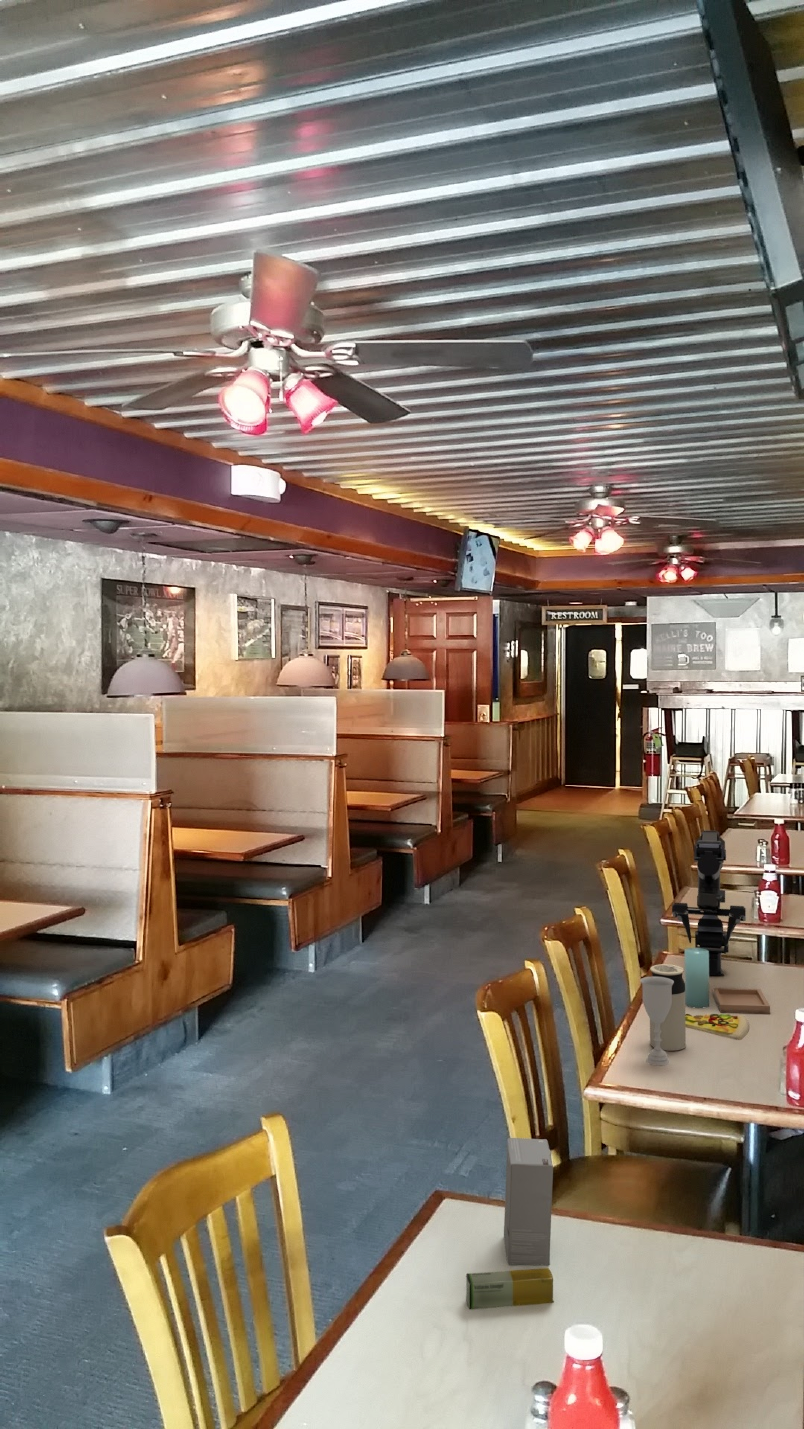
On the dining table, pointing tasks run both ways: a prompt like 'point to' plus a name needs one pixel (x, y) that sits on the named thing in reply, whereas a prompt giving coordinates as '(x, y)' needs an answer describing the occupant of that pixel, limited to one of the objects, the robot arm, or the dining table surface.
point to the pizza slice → (719, 1025)
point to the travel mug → (671, 1010)
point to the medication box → (509, 1288)
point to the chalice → (657, 1011)
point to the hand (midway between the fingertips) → (708, 944)
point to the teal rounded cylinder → (696, 977)
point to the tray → (741, 1001)
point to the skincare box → (528, 1202)
